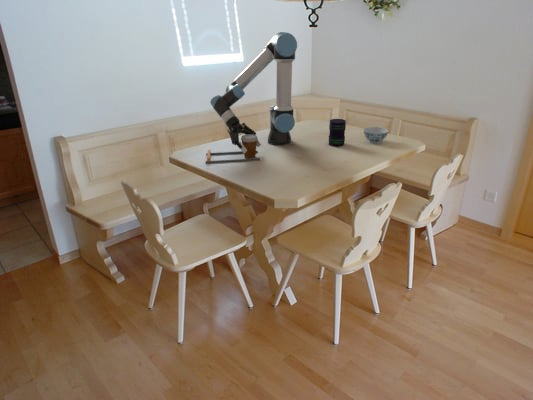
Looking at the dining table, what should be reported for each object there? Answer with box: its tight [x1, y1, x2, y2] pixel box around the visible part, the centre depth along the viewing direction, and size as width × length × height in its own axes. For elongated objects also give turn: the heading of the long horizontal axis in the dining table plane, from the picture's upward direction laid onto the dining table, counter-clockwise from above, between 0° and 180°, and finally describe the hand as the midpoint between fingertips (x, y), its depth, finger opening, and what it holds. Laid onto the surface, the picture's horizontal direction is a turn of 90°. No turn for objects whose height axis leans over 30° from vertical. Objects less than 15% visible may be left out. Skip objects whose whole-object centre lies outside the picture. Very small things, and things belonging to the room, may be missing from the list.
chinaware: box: [363, 126, 389, 145], centre depth 246 cm, size 15×15×8 cm
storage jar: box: [328, 118, 347, 148], centre depth 241 cm, size 10×10×15 cm
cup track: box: [205, 149, 261, 164], centre depth 224 cm, size 30×15×3 cm, turn 96°
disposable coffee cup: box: [240, 134, 259, 159], centre depth 223 cm, size 10×10×12 cm
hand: (252, 149), depth 223 cm, fingers open, 13 cm apart
